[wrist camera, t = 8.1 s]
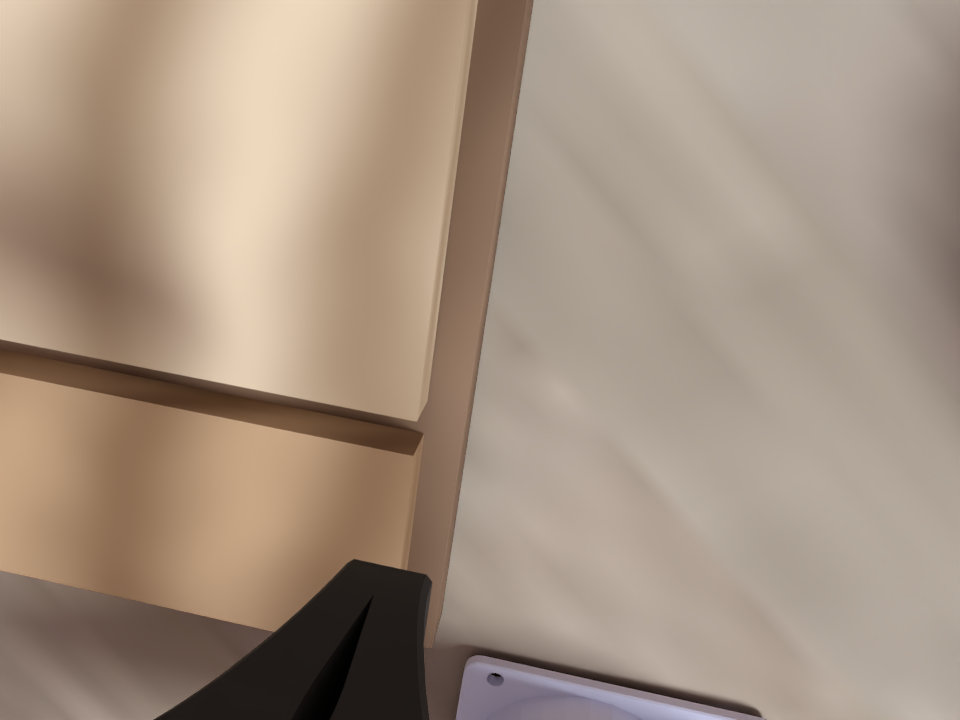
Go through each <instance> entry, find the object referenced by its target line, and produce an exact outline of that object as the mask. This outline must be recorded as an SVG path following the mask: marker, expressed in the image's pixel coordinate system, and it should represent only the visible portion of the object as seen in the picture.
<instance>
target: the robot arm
mask: <svg viewBox="0 0 960 720" xmlns="http://www.w3.org/2000/svg"><path fill="white" fill-rule="evenodd" d="M431 589H432V581H431V579H430V578H429V577H428V576H427V574H422V573H417V572H413V571H408V570H403V569H399V568H394V567H389V566H385V565H380V564H375V563H371V562H366V561H361V560H357V559H353V560H351V561H350V562H348V563H346V565H345V566H344V567H343V568H342V569H341V570H340V571H339V572H338V573H337V574H336V575H335V576H334V577H333V578H332V579H331V580H330V581H329V582H328V583H327V584H326V585H325V586H324V587H323V588H322V589H321V590H320V591H319V592H318V593H317V594H316V595H315V596H314V597H313V598H312V599H311V600H310V601H309V602H308V603H307V604H305V605H304V606H303V607H302V608H301V609H300V610H299V611H298V612H297V613H296V614H295V615H293V616H292V617H291V618H290V619H289V620H288V621H287V622H285V623H284V624H283V625H282V626H281V627H280V628H279V629H278V630H276V631H275V632H274V633H273V634H272V635H271V636H270V637H268V638H267V639H266V640H265V641H264V642H262V643H261V644H260V645H259V646H257V647H256V648H255V649H254V650H252V651H251V652H250V653H249V654H247V655H246V656H245V657H243V658H242V659H241V660H240V661H238V662H237V663H236V664H235V665H233V666H232V667H231V668H230V669H228V670H227V671H226V672H224V673H223V674H222V675H220V676H219V677H217V678H216V679H215V680H213V681H212V682H211V683H209V684H208V685H206V686H205V687H203V688H202V689H201V690H199V691H198V692H196V693H195V694H193V695H192V696H190V697H189V698H187V699H186V700H184V701H183V702H181V703H180V704H178V705H177V706H175V707H174V708H172V709H170V710H169V711H167V712H166V713H164V714H162V715H161V716H159V717H157V718H156V719H154V720H429V714H428V706H427V697H426V686H425V670H424V638H425V631H426V624H427V617H428V610H429V603H430V596H431ZM491 673H497V674H500V675H501V677H495V676H493V675H491ZM456 720H766V719H763V718H761V717H757V716H752V715H748V714H743V713H739V712H734V711H730V710H725V709H721V708H716V707H712V706H707V705H703V704H698V703H694V702H689V701H685V700H680V699H676V698H671V697H667V696H662V695H658V694H653V693H649V692H644V691H640V690H635V689H631V688H626V687H622V686H617V685H613V684H608V683H604V682H599V681H595V680H590V679H586V678H581V677H577V676H572V675H568V674H563V673H559V672H554V671H550V670H545V669H541V668H536V667H532V666H527V665H523V664H518V663H514V662H510V661H505V660H501V659H496V658H492V657H487V656H481V655H476V656H473V657H471V658H469V659H468V660H467V662H466V664H465V668H464V673H463V679H462V685H461V691H460V697H459V702H458V708H457V714H456Z"/></svg>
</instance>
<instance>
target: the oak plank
mask: <svg viewBox="0 0 960 720" xmlns="http://www.w3.org/2000/svg"><path fill="white" fill-rule="evenodd" d="M477 4H478V0H0V339H1V340H6V341H11V342H16V343H22V344H27V345H32V346H37V347H42V348H47V349H52V350H57V351H62V352H67V353H72V354H77V355H82V356H87V357H92V358H97V359H102V360H107V361H113V362H118V363H123V364H128V365H133V366H138V367H143V368H148V369H153V370H158V371H163V372H168V373H173V374H178V375H183V376H188V377H193V378H198V379H204V380H209V381H214V382H219V383H224V384H229V385H234V386H239V387H244V388H249V389H254V390H259V391H264V392H269V393H274V394H279V395H284V396H289V397H295V398H300V399H305V400H310V401H315V402H320V403H325V404H330V405H335V406H340V407H345V408H350V409H355V410H360V411H365V412H370V413H375V414H380V415H386V416H391V417H396V418H401V419H406V420H411V421H416V422H417V420H418V418H419V416H420V414H421V413H422V411H423V409H424V407H425V405H426V403H427V401H428V393H429V385H430V377H431V369H432V361H433V353H434V345H435V337H436V329H437V321H438V313H439V306H440V298H441V290H442V282H443V274H444V266H445V258H446V250H447V242H448V234H449V226H450V218H451V210H452V203H453V195H454V187H455V179H456V171H457V163H458V155H459V147H460V139H461V131H462V123H463V115H464V107H465V99H466V92H467V84H468V76H469V68H470V60H471V52H472V44H473V36H474V28H475V20H476V12H477Z"/></svg>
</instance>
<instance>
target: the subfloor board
mask: <svg viewBox="0 0 960 720" xmlns="http://www.w3.org/2000/svg"><path fill="white" fill-rule="evenodd" d="M532 7H533V0H478V4H477V12H476V20H475V28H474V36H473V44H472V52H471V60H470V68H469V76H468V84H467V92H466V99H465V107H464V115H463V123H462V131H461V139H460V147H459V155H458V163H457V171H456V179H455V187H454V195H453V203H452V210H451V218H450V226H449V234H448V242H447V250H446V258H445V266H444V274H443V282H442V290H441V298H440V306H439V313H438V321H437V329H436V337H435V345H434V353H433V361H432V369H431V377H430V385H429V393H428V401H427V403H426V405H425V407H424V409H423V411H422V413H421V414H420V416H419V418H418V420H417V422H416V421H411V420H406V419H401V418H396V417H391V416H386V415H380V414H375V413H370V412H365V411H360V410H355V409H350V408H345V407H340V406H335V405H330V404H325V403H320V402H315V401H310V400H305V399H300V398H295V397H289V396H284V395H279V394H274V393H269V392H264V391H259V390H254V389H249V388H244V387H239V386H234V385H229V384H224V383H219V382H214V381H209V380H204V379H198V378H193V377H188V376H183V375H178V374H173V373H168V372H163V371H158V370H153V369H148V368H143V367H138V366H133V365H128V364H123V363H118V362H113V361H107V360H102V359H97V358H92V357H87V356H82V355H77V354H72V353H67V352H62V351H57V350H52V349H47V348H42V347H37V346H32V345H27V344H22V343H16V342H11V341H6V340H1V339H0V570H1V571H6V572H10V573H15V574H19V575H24V576H28V577H33V578H37V579H41V580H46V581H50V582H55V583H59V584H64V585H68V586H72V587H77V588H81V589H86V590H90V591H95V592H99V593H104V594H108V595H112V596H117V597H121V598H126V599H130V600H135V601H139V602H144V603H148V604H152V605H157V606H161V607H166V608H170V609H175V610H179V611H183V612H188V613H192V614H197V615H201V616H206V617H210V618H215V619H219V620H223V621H228V622H232V623H237V624H241V625H246V626H250V627H255V628H259V629H263V630H268V631H272V632H275V631H276V630H278V629H279V628H280V627H281V626H282V625H283V624H284V623H285V622H287V621H288V620H289V619H290V618H291V617H292V616H293V615H295V614H296V613H297V612H298V611H299V610H300V609H301V608H302V607H303V606H304V605H305V604H307V603H308V602H309V601H310V600H311V599H312V598H313V597H314V596H315V595H316V594H317V593H318V592H319V591H320V590H321V589H322V588H323V587H324V586H325V585H326V584H327V583H328V582H329V581H330V580H331V579H332V578H333V577H334V576H335V575H336V574H337V573H338V572H339V571H340V570H341V569H342V568H343V567H344V566H345V565H346V563H348V562H350V561H351V560H353V559H357V560H361V561H366V562H371V563H375V564H380V565H385V566H389V567H394V568H399V569H403V570H408V571H413V572H417V573H422V574H427V576H428V577H429V578H430V579H431V581H432V589H431V596H430V603H429V610H428V617H427V624H426V631H425V638H424V647H425V648H429V649H431V648H432V645H433V642H434V638H435V635H436V632H437V628H438V625H439V621H440V618H441V615H442V608H443V601H444V595H445V588H446V581H447V575H448V568H449V561H450V554H451V548H452V541H453V534H454V528H455V521H456V514H457V508H458V501H459V494H460V488H461V481H462V474H463V468H464V461H465V454H466V448H467V441H468V434H469V428H470V421H471V414H472V408H473V401H474V394H475V388H476V381H477V374H478V368H479V361H480V354H481V348H482V341H483V334H484V327H485V321H486V314H487V307H488V301H489V294H490V287H491V281H492V274H493V267H494V261H495V254H496V247H497V241H498V234H499V227H500V221H501V214H502V207H503V201H504V194H505V187H506V181H507V174H508V167H509V161H510V154H511V147H512V141H513V134H514V127H515V121H516V114H517V107H518V100H519V94H520V87H521V80H522V74H523V67H524V60H525V54H526V47H527V40H528V34H529V27H530V20H531V14H532Z"/></svg>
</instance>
